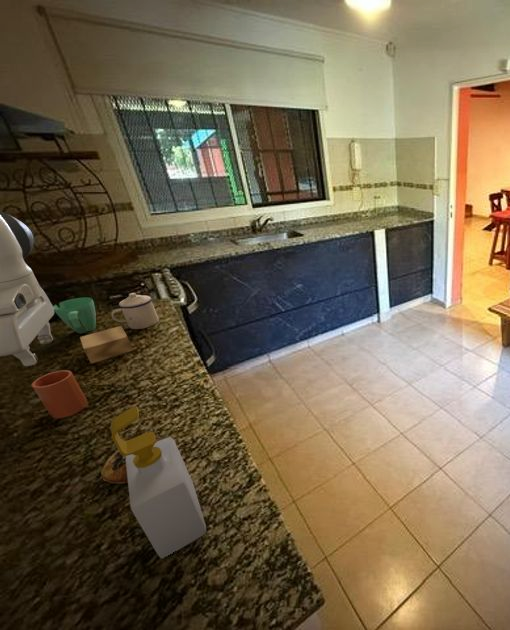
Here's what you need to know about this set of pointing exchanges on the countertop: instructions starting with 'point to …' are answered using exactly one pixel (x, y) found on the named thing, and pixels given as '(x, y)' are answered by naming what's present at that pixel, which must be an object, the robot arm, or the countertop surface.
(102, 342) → the block
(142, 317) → the teacup with lid
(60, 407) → the cup
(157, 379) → the countertop surface
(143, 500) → the soap bottle
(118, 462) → the bread roll
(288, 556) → the countertop surface
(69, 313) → the mug
